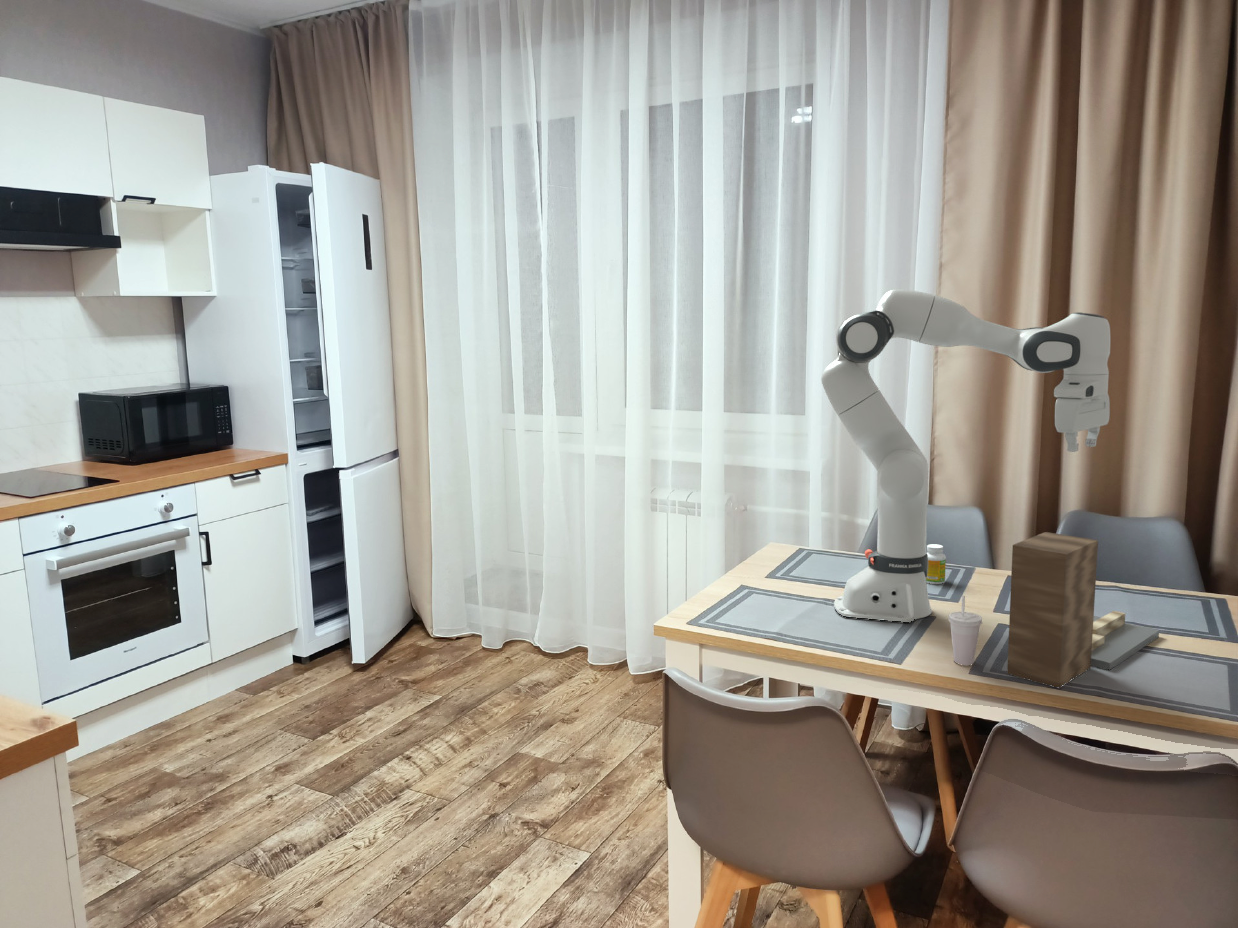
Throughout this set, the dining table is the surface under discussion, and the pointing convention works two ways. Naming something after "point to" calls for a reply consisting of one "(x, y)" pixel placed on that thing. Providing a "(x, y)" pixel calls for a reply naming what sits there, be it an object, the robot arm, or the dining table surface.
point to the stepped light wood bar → (1106, 627)
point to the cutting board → (1121, 644)
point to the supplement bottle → (936, 564)
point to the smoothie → (964, 635)
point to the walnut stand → (1052, 607)
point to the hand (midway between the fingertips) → (1081, 449)
